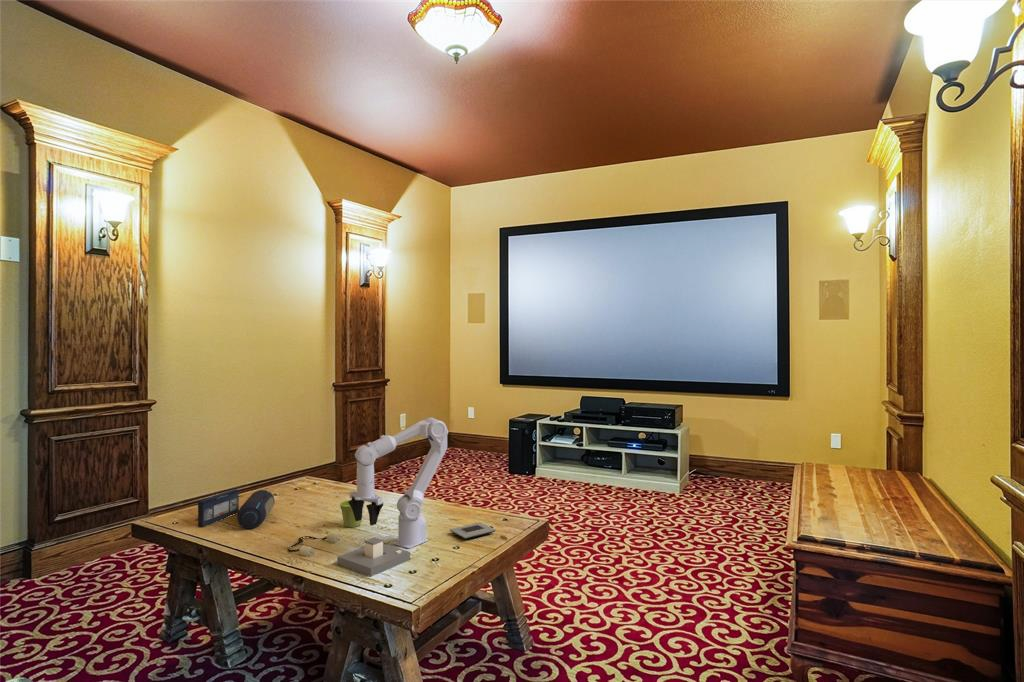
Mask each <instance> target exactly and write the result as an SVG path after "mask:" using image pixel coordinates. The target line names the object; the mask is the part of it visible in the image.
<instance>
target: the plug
mask: <svg viewBox="0 0 1024 682" xmlns="http://www.w3.org/2000/svg"><path fill="white" fill-rule="evenodd" d="M383 544H384V540H383V538H379V537H376V536H375V537H372V538H369V539H366V540H364V546H365V556H366V557H369V558H372V559H374V558H376V557H379V556H381V555H383Z"/></svg>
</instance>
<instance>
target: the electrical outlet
mask: <svg viewBox="0 0 1024 682" xmlns="http://www.w3.org/2000/svg"><path fill="white" fill-rule="evenodd" d="M449 531H450V532H452V533H453V534H456V535H457V536H458V537H461V538H463V539H465V540H469V539H471V538H475V537H480V536H484V535H488V534H492V533H495V532H496V531H497V530H496V529H495V528H493V527H490V526H489V525H488V524H487V525H486V524H484V523H482V522H480V521H479V522H475V523H472V524H466V525H463V526H462V525H461V526H458V527H454V528H450V529H449Z"/></svg>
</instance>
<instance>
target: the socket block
mask: <svg viewBox="0 0 1024 682" xmlns="http://www.w3.org/2000/svg"><path fill="white" fill-rule="evenodd" d="M336 560H337V565H338V564H339V565H338V566H340V565H342V566H341V567H343V566H345V567H344V568H346V567H347V568H346V569H349V568H350V569H349V570H351V569H353V570H352V571H354V570H356V571H355V572H357V571H358V572H357V573H360V574H362V573H363V575H365V574H366V576H368V575H369V577H373V575H374V576H375V574H376V575H378V574H380V572H381V573H382V572H385V571H387V570H390V569H392V568H394V567H397V566H399V565H401V564H403V563H405V562H409V561H410V560H411V551H410V550H409V551H408V550H406V549H402V548H399V547H396V546H392V545H388V544H387V543H383V555H381V556H379V557H376V558H374V559H372V558H369V557H366V556H365V545H364V546H361V547H359V548H356V549H354V550H351V551H348V552H346V553H343V554H340V555H338V556H337V559H336Z"/></svg>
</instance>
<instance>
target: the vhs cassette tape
mask: <svg viewBox="0 0 1024 682" xmlns="http://www.w3.org/2000/svg"><path fill="white" fill-rule="evenodd" d="M239 493H240V491H239V489H237V488H236V489H235V488H233V489H231V490H227V491H224V492H222V493H218V494H217V495H216V494H215V495H213V496H210V497H207V498H205V499H202V500H198V501H197V521H198V522H197V527H198V528H205V526H206V527H207V525H208V526H211V525H213V524H215V523H214V522H216V521H218V522H220V521H219V520H221V519H223V520H225V519H224V518H226V517H228V516H230V515H233V514H236V513H238V511H239V509H240V508H239V507H240V504H239V500H240V499H239V497H240V496H239V495H240V494H239ZM236 515H237V514H236ZM226 519H227V518H226ZM221 521H222V520H221ZM212 523H213V524H212ZM216 523H217V522H216ZM210 524H211V525H210Z"/></svg>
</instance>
